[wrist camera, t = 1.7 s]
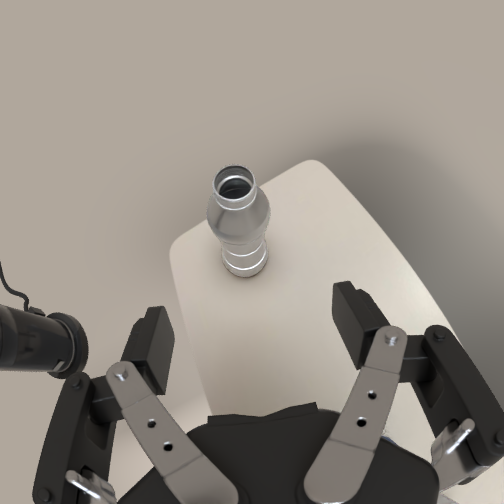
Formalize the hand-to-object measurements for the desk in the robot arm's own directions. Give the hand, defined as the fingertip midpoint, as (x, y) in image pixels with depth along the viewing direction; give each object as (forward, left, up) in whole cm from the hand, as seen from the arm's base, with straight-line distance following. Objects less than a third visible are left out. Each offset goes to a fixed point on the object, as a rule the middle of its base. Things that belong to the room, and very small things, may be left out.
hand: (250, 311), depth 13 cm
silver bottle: (-7, +9, -27) cm, 29 cm away
